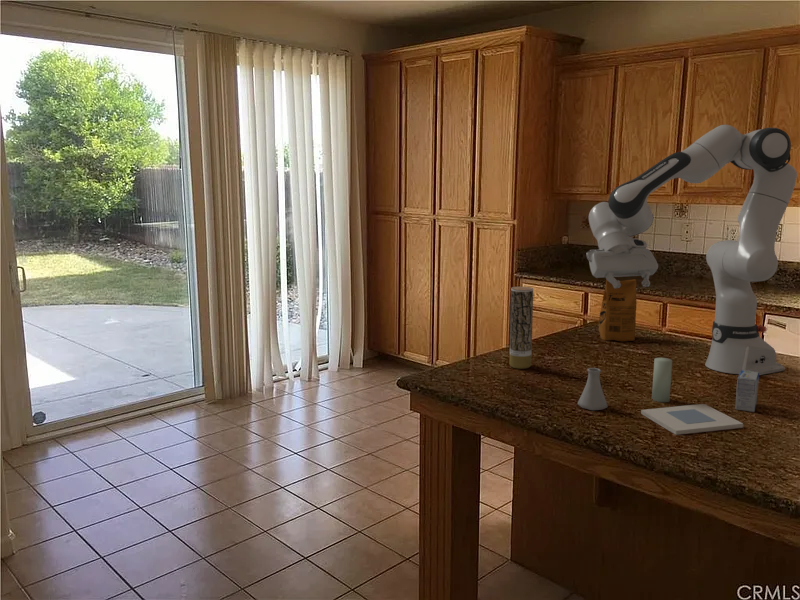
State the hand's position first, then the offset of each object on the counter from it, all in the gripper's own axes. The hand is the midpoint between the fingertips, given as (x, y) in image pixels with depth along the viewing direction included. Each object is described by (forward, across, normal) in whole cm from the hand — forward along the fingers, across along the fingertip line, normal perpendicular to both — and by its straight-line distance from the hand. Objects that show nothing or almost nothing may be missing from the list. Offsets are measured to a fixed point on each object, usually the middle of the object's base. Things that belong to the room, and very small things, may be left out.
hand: (632, 286), depth 187 cm
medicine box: (+40, +16, -1) cm, 43 cm away
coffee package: (-11, +22, +50) cm, 55 cm away
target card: (+44, -4, -5) cm, 44 cm away
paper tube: (+6, -26, +33) cm, 42 cm away
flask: (+33, -22, +6) cm, 40 cm away
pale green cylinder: (+33, -2, +6) cm, 34 cm away
